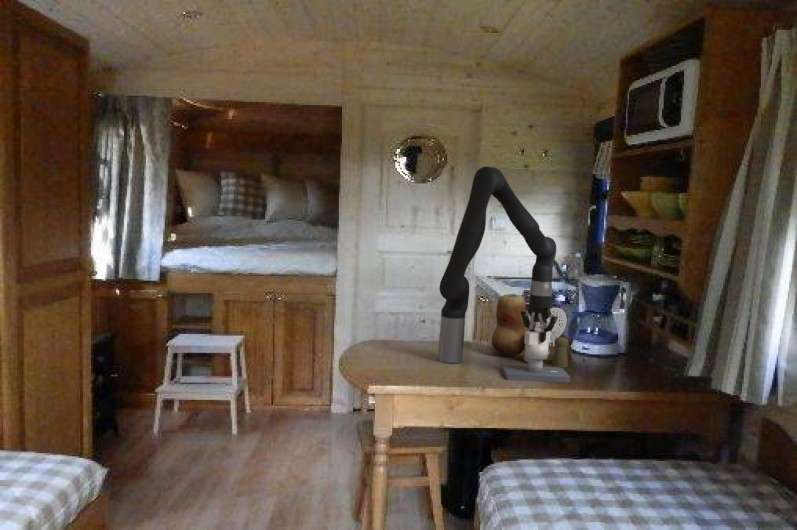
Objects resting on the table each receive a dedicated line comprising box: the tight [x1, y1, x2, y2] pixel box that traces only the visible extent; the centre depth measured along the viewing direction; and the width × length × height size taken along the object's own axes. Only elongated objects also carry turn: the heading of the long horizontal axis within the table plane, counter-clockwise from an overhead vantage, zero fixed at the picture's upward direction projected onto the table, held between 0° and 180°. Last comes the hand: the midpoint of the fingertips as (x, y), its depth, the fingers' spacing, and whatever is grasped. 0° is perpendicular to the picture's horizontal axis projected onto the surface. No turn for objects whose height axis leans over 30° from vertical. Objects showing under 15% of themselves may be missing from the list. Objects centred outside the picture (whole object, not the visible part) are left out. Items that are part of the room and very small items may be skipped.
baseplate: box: [501, 358, 571, 384], centre depth 219 cm, size 22×12×7 cm, turn 90°
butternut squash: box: [491, 293, 527, 357], centre depth 245 cm, size 14×13×25 cm
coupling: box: [524, 331, 551, 361], centre depth 219 cm, size 11×8×9 cm
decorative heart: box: [526, 307, 568, 347], centre depth 265 cm, size 18×11×17 cm, turn 98°
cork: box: [551, 336, 569, 369], centre depth 235 cm, size 6×6×11 cm
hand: (537, 341), depth 218 cm, fingers closed on coupling, 3 cm apart
